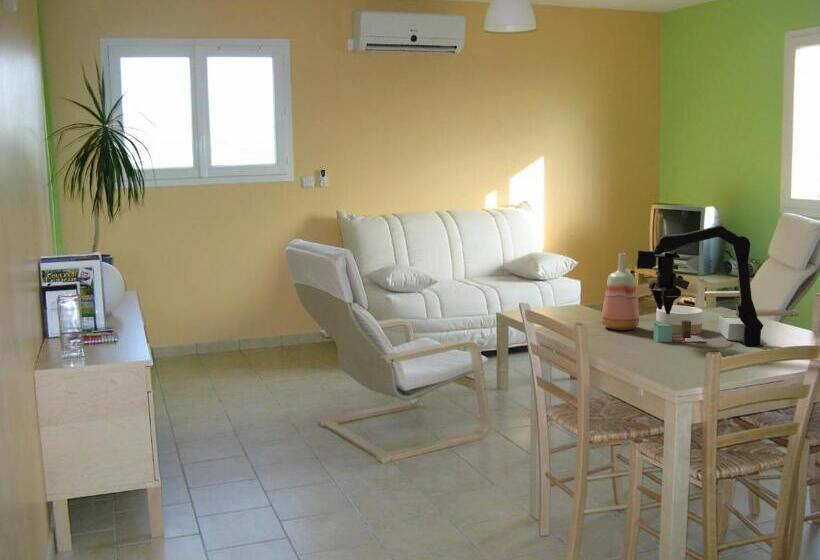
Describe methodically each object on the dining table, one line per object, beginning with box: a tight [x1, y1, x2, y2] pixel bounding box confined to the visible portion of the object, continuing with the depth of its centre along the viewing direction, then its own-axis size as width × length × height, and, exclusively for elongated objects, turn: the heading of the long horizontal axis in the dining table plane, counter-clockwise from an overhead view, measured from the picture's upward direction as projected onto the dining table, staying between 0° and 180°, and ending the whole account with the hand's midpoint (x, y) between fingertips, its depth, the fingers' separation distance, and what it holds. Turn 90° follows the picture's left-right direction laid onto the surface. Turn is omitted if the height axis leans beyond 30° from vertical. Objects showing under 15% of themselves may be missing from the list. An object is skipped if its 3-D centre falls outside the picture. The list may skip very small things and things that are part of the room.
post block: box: [671, 320, 706, 343], centre depth 327 cm, size 9×12×7 cm
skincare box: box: [717, 315, 745, 342], centre depth 332 cm, size 8×7×16 cm
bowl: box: [655, 304, 704, 335], centre depth 344 cm, size 17×17×8 cm
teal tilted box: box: [652, 322, 673, 343], centre depth 326 cm, size 5×5×6 cm
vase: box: [600, 252, 640, 331], centre depth 345 cm, size 14×14×30 cm
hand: (663, 311), depth 324 cm, fingers open, 9 cm apart
